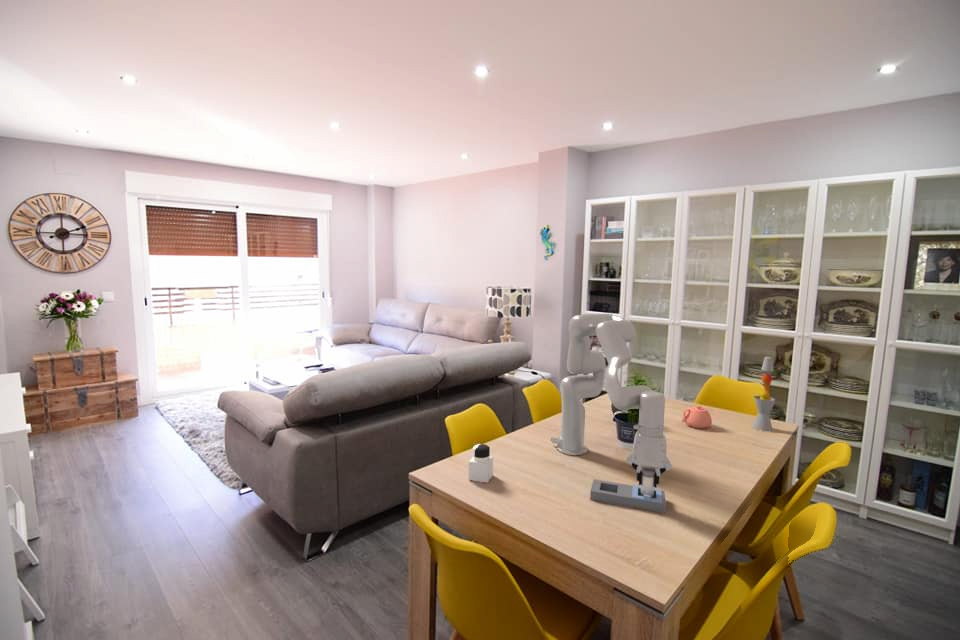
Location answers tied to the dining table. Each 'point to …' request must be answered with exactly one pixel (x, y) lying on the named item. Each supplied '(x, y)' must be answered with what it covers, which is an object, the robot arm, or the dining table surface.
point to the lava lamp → (764, 400)
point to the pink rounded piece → (697, 417)
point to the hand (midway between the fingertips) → (647, 484)
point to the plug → (647, 481)
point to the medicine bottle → (481, 464)
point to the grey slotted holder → (627, 495)
